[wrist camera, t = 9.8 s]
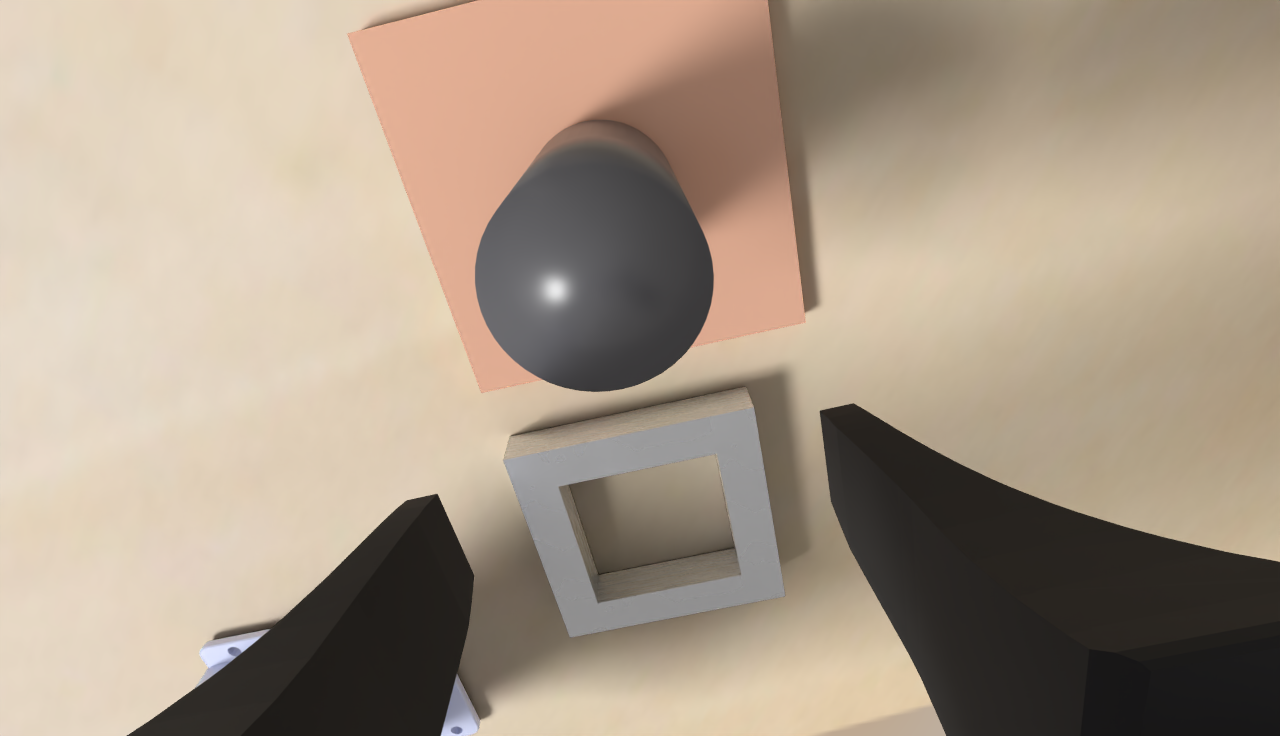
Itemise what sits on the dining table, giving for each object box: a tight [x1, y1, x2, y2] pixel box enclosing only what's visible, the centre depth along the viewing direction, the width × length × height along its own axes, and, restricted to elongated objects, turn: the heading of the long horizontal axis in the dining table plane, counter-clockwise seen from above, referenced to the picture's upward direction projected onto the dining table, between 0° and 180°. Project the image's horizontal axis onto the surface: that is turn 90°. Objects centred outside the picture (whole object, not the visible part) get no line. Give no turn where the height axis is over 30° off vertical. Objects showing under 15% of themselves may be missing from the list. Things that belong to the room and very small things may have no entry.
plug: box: [475, 120, 714, 392], centre depth 16 cm, size 4×4×8 cm
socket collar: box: [503, 387, 785, 638], centre depth 24 cm, size 9×9×2 cm
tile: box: [347, 0, 806, 393], centre depth 19 cm, size 11×11×1 cm
